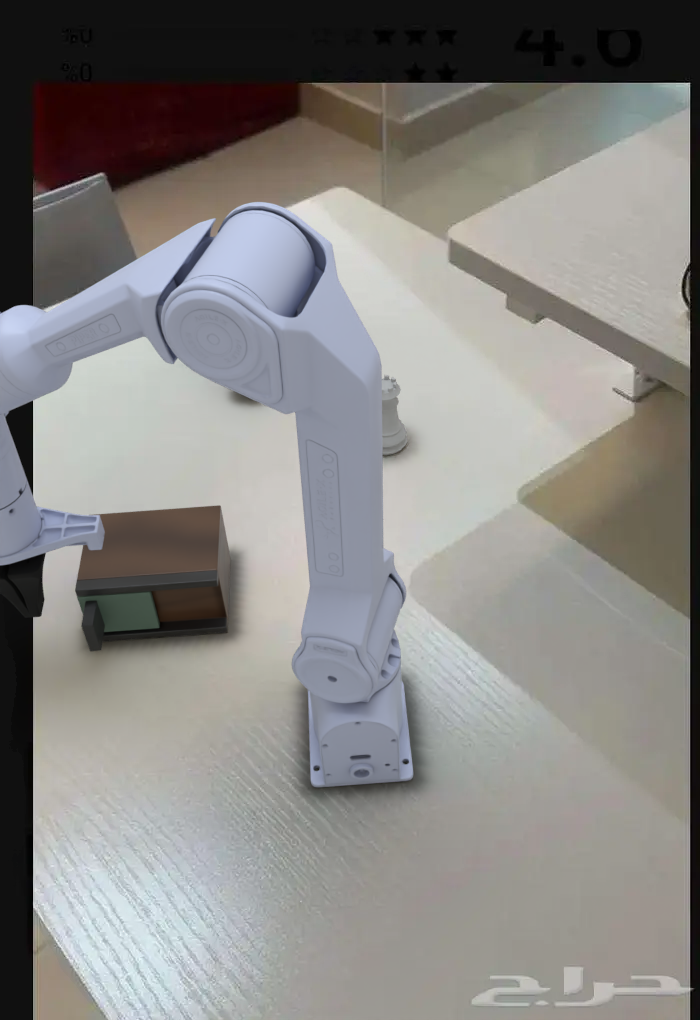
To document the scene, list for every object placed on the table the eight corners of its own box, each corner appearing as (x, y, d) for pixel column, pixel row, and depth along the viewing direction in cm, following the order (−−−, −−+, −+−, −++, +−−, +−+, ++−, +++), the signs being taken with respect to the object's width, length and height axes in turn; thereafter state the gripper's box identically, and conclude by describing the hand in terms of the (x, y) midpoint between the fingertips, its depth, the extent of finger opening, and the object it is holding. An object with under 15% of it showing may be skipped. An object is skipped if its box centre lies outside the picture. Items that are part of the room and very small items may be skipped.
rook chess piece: (358, 436, 112) (355, 375, 107) (397, 425, 113) (396, 364, 108) (374, 461, 109) (371, 400, 104) (414, 450, 110) (413, 389, 105)
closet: (227, 633, 94) (216, 580, 89) (92, 642, 94) (74, 590, 89) (230, 557, 100) (220, 504, 96) (104, 567, 100) (88, 514, 95)
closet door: (157, 653, 91) (146, 617, 88) (85, 658, 91) (72, 622, 88) (160, 623, 94) (150, 587, 90) (90, 628, 94) (77, 592, 90)
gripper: (92, 446, 81) (126, 566, 90) (-97, 459, 81) (-43, 578, 90) (80, 510, 76) (118, 630, 85) (-122, 524, 76) (-62, 643, 85)
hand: (34, 608), depth 87 cm, fingers closed
